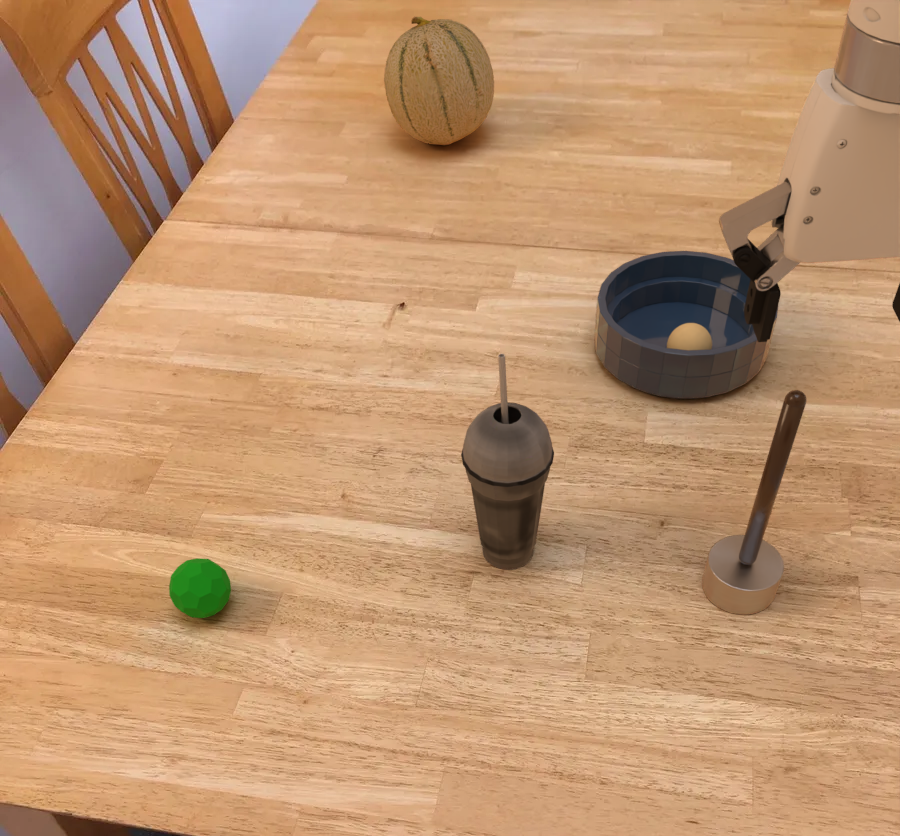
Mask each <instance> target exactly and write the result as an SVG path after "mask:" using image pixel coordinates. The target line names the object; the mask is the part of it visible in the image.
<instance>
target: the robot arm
mask: <svg viewBox="0 0 900 836" xmlns="http://www.w3.org/2000/svg"><path fill="white" fill-rule="evenodd" d="M837 50H838V51H837V55H836V58H835V63H834V66H833V67H831V68H830V67H829V68H825V69H821V70H820V71H819V72H818V73H817V75H816V76H815V78H814V81H813V83H812V85H811V86H810V89H809V92H808V94H807V96H806V98H805V100H804V103H803V106H802V108H801V110H800V113H799V116H798V118H797V121H796V124H795V127H794V129H793V131H792V135H791V138H790V140H789V144H788V146H787V149H786V152H785V156H784V158H783V162H782V166H781V168H780V171H779V176H778V178H777V183H776V186H774V187H772V188H770V189H768V190H766V191H764V192H763V193H761V194H759V195H756V196H755V197H753V198H750V199H748V200H747V201H745V202H743V203H741V204H739V205H737V206H735V207H733V208H731V209H729V210H727V211H725V212H723V213H722V214H720V216H719V219H718V225H719V228H720V230H721V233H722V235H723V238H724V241H725V243H726V245H727V248H728V250H729V253H730V255H731V257H732V260H734V263H735V264H736V266H737V267H738V268H739V269H740V270H742V271H743V272H744V273H745V274H746V275H747V276H748V277H749V278H750V284H749V288H748V293H747V298H746V303H745V308H744V317H745V321H746V323H747V324H752V326H753V329H754V332H755V335H756V338H757V341H758V342H767V340H769V339H770V337H771V333H772V329H773V324H774V320H775V316H776V312H777V308H778V309H779V304H780V303H779V302H780V300H781V294H782V293H781V288H780V285H779V284H778V283H779V282H780V281H781V280H783V278H785V277H786V276H787V275H788V274H789V273H791V272H792V270H794V269H795V268H796V267H797V266H799V265H800V264H823V263H835V262H836V263H837V262H852V261H853V262H855V261H866V260H879V259H892V258H894V259H895V258H900V0H849V6H848V10H847V13H846V17H845V22H844V26H843V30H842V33H841V37H840V43H839V46H838V49H837ZM769 222H770V224H771V228H776V230H775V231H774V232H772V233H771V234H770V235H769V236H768V237H766V239H765V240H764V241H762V243H760V244H759V245H758V246H756V245H755V244H754V243H753V242H752V241H751V240H750V239H749V234H750V233H751V232H752V231H753V230H755V229H757V228H760V227H761V226H763V225H765V224H767V223H769ZM891 306H892V309H893V311H894V313H895V315H896V317H897V320H898V322H899V323H900V283H898V287H897V289H896V292H895V295H894V297H893V300H892V305H891Z"/></svg>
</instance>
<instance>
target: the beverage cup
mask: <svg viewBox="0 0 900 836" xmlns="http://www.w3.org/2000/svg"><path fill="white" fill-rule="evenodd" d="M497 356H498V357H497V358H498V375H499V378H498V379H499V394H500V395H499V396H500V403H496V404H493V405H490V406H488V407H485V409H483V410H482V411H480V412H479V413H478V414H477V415H476V416H475V417H474V419H473V420H472V421H471V422H470V424H469V425H468V427H467V430H466V433H465V435H464V436H465V437H464V440H463V445H462V450H461V453H460V456H461V462H462V466H463V467H464V469H465V473H466V476H467V479H468V482H469V483H470V488H471V493H472V500H473V506H474V511H475V517H476V524H477V529H478V536H479V541H480V546H481V547H482V555H483V558H484V559H485V560H486V562H487V563H488V564H490V565H491V566H492V567H494V568H497V569H500V570H507V571H508V570H509V571H510V570H517V569H519V568H521V567H524V566H526V565H527V564H528V563H529V562H530V561H531V559H532V558H533V557H534V553H535V552H534V551H535V547H536V543H537V538H538V531H539V526H540V525H539V524H540V519H541V513H542V505H543V499H544V493H545V486H546V483H547V480H548V478H549V475H550V470H551V467H552V465H553V464H554V457H555V451H554V447H553V442H552V438H551V435H550V432H549V428H548V427H547V424H546V423H545V421H544V420H543V419H542V418H541V417H540V415H539V414H538V413H537V412H536V411H534V410H533V409H531V408H529V407H528V406H526V405H523V404H520V403H517V402H508V384H507V367H506V354H505V353H499V354H498V355H497Z"/></svg>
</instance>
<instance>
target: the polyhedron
mask: <svg viewBox="0 0 900 836" xmlns="http://www.w3.org/2000/svg"><path fill="white" fill-rule="evenodd" d="M168 591H169V594H168V595H169V597H170V599H171V602H172V604H173V606H174V607H175V608H176V609H177V610H179V611H180V612H181V613H183V614H185V615H186V616H188V617H190V618H192V619H193V618H195V619H204V618H205V619H206V618H209V617H212V616H215V615H216V614H218V613H219V612H221V611H222V610H223V609H224V608H225V606H226V605H227V603H228V602H229V600H230V597H231V592H232V585H231V580H230V577H229V575H228V573H227V571H226V569H225V568H223V567H222V566H220V565H219V564H218V563H216V562H214V561H213V560H211V559H209V558H197V557H195V558H193V559H187V560H185V561H184V562H183V563H181V564H180V565H179V566H177V567H176V569H175V570H174V571H173V573H172V574H171V575H170V580H169V585H168Z"/></svg>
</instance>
